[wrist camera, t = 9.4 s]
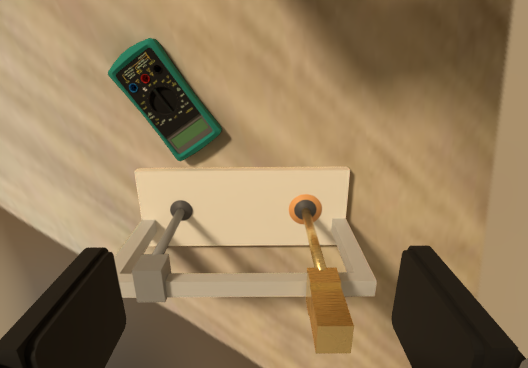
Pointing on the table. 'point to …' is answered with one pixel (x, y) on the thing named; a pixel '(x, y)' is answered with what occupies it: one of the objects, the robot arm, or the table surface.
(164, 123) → the digital multimeter
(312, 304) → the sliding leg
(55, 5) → the table surface
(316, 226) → the white rack frame
